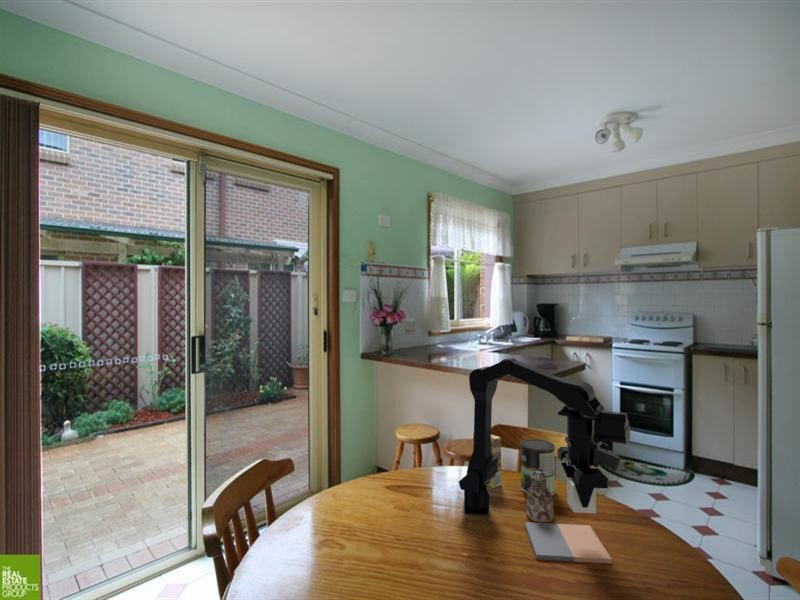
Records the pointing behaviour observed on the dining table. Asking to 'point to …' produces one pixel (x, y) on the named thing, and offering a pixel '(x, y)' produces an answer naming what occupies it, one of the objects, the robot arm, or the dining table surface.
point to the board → (566, 543)
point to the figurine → (539, 499)
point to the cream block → (575, 501)
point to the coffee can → (537, 462)
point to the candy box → (497, 453)
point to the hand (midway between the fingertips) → (581, 501)
